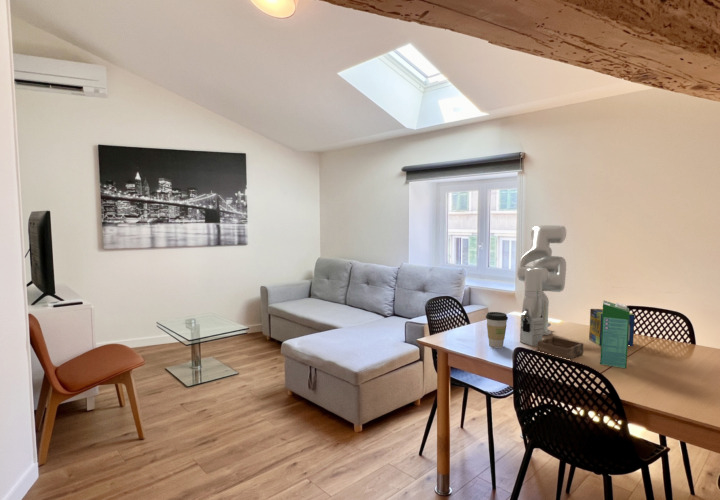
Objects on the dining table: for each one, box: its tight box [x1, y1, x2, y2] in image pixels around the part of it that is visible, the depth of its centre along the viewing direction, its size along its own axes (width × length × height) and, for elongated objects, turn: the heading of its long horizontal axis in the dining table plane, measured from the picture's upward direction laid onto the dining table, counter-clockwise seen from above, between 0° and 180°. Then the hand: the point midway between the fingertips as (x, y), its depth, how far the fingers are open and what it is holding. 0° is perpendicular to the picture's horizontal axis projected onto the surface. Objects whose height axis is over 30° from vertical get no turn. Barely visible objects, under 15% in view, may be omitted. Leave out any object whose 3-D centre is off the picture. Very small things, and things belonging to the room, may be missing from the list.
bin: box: [536, 336, 584, 361], centre depth 178 cm, size 13×13×5 cm
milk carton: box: [599, 300, 630, 369], centre depth 166 cm, size 9×9×25 cm
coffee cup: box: [485, 311, 509, 349], centre depth 190 cm, size 10×10×15 cm
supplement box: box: [519, 316, 544, 347], centre depth 194 cm, size 7×7×13 cm
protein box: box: [588, 308, 636, 347], centre depth 194 cm, size 10×15×16 cm
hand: (531, 330), depth 193 cm, fingers open, 9 cm apart
